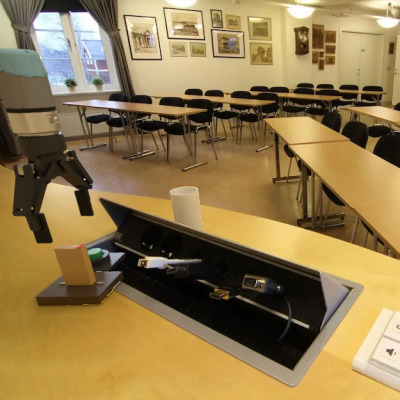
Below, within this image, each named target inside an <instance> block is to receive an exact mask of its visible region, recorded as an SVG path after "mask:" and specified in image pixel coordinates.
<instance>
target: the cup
mask: <svg viewBox="0 0 400 400" xmlns="http://www.w3.org/2000/svg"><path fill="white" fill-rule="evenodd" d="M169 196H170V202H171V208H172V214H173V220H174V223H175V222H178V223H181V224H184V225H187V226H190V227H193V228H197V229H200V230H203V231H204V232H205V229H204V222H203V216H202V208H201V200H200V193H199V188H198V187H196V186H190V185H188V186H180V187H179V186H178V187H175V188H172V189H171V190H169Z"/></svg>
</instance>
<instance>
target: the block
mask: <svg viewBox="0 0 400 400" xmlns="http://www.w3.org/2000/svg"><path fill="white" fill-rule="evenodd" d="M101 250H102V253H103V256H101V257H99V258H97V259H93V260H90V261H91V265H92V268H93V272H96V271H102V272H110V271H111V270H112V269H113V270H114V269H115V268H116V267H117V266H118V265H119V264H120V263H121V262H122V261H123V260H124V259H125V258H126V256H127V255H126V252H110V251H109V250H107V249H101ZM113 270H112V271H113ZM112 271H111V272H112Z"/></svg>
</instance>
